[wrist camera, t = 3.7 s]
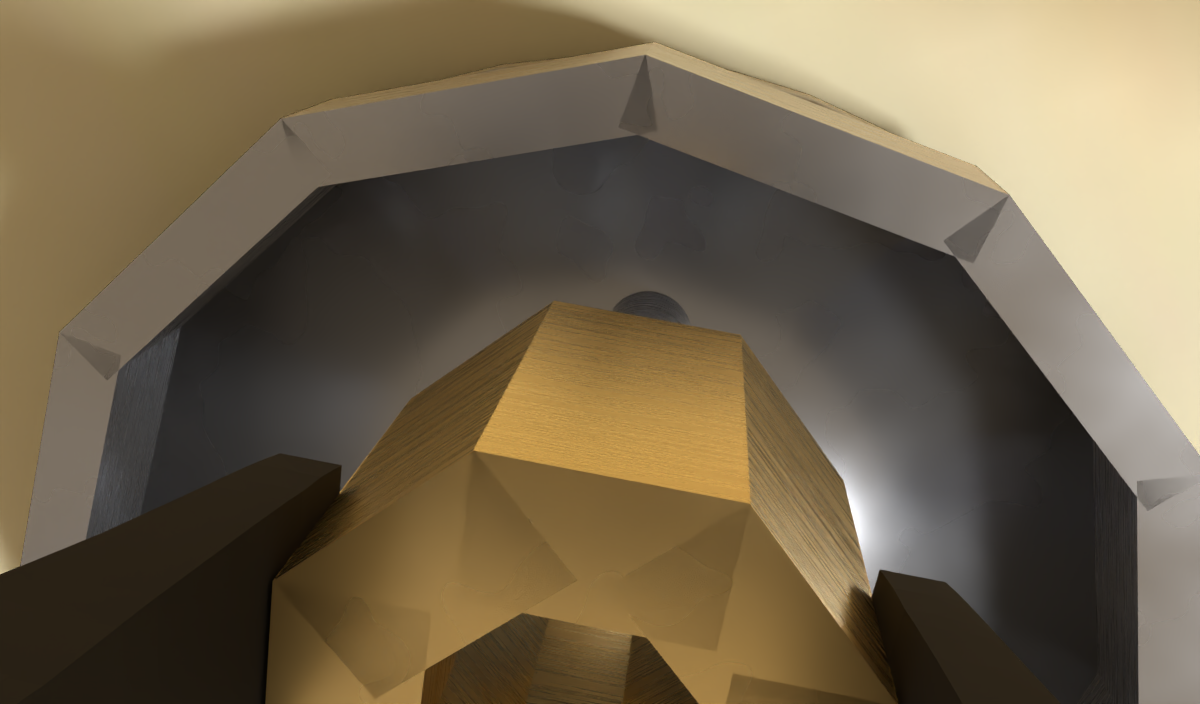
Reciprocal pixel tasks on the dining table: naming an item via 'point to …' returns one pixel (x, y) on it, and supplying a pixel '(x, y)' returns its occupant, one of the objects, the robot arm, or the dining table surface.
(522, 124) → the carrier
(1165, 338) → the dining table surface
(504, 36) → the dining table surface
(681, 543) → the planet gear
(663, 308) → the pin
